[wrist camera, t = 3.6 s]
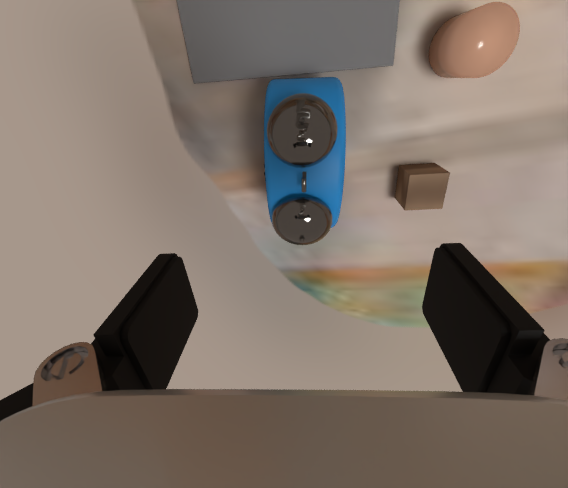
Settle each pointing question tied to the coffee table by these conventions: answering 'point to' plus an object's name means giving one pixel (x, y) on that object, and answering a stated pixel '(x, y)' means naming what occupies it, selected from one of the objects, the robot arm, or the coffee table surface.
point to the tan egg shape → (475, 42)
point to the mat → (286, 36)
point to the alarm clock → (304, 156)
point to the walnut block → (421, 186)
